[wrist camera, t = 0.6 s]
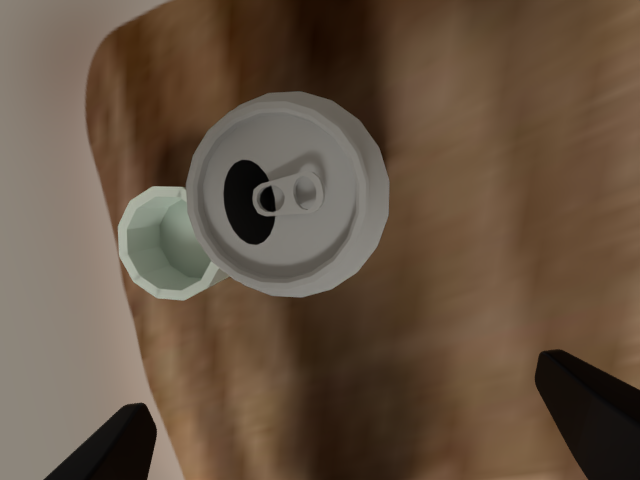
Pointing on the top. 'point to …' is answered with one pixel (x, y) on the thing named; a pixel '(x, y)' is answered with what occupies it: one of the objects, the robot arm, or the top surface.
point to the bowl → (164, 246)
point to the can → (288, 194)
